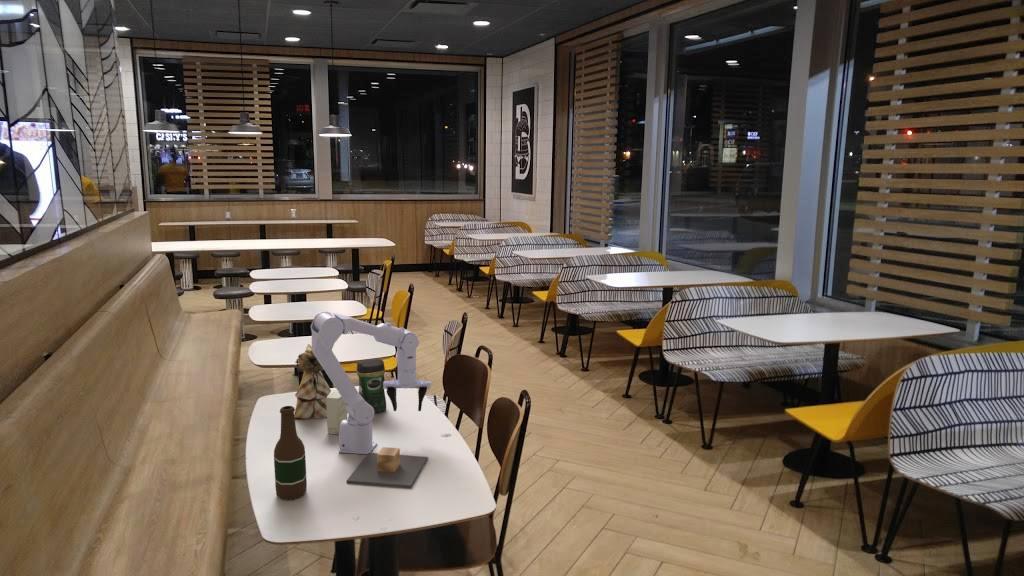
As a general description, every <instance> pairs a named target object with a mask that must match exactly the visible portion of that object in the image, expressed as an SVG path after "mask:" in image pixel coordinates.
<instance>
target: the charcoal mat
mask: <svg viewBox="0 0 1024 576" xmlns="http://www.w3.org/2000/svg"><path fill="white" fill-rule="evenodd" d="M378 453H379V452H370V453H368V454H365V455H366V456H365V457H364V458H363V459H362V460H361V462H360V463H359V464H358V465H357V467H356V468H355V469H354V470H353V472H351V474H350V476H349V477H348V478H347V479H346V484H351V483H352V484H353V485H365V486H380V487H391V488H394V487H395V488H404V489H405V488H406V489H412V487H413V485H414V484H415V482H416V480H417V479H418V477H419V475H420V474H421V472H422V471H423V468H424V467H423V466H425V464H426V463H427V461H428V460H427V459H429V458H428V456H420V455H408V454H400V465H399V467H398V468H397V470H396V471H395V472H382V471H377V454H378Z"/></svg>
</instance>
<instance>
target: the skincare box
mask: <svg viewBox="0 0 1024 576" xmlns="http://www.w3.org/2000/svg"><path fill="white" fill-rule="evenodd" d="M326 406H327V417H326V422H327V423H326V425H327V427H326V428H327V434H331V435H339V427H340V424H341V422H342V420H347V419H348V413H347V412H346V410H345V404H344V402H343V400H342V397H341V395H340V394H339V392H338V391H333V392H332V393H330V394H329V395H328V396H327V397H326Z"/></svg>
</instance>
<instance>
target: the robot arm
mask: <svg viewBox="0 0 1024 576" xmlns="http://www.w3.org/2000/svg"><path fill="white" fill-rule="evenodd" d="M310 330H311V347H312V352H313V353H314V355H315V356H316V358H317V360H318V361H319V363H320V364H321V366H322V367H323V371H324V372H325V374H326V375H327V376H328V378H329V379H330V381H331V382H332V384H333V385H334V387H335V389H336V391H337V392H339V394H340V395H341V397H342V400H343V402H344V404H345V410H346V412H347V420H342V422H341V424H340V427H339V434H338V440H339V443H338V444H339V445H338V446H339V449H338V452H339V453H344V454H357V455H358V454H360V455H367V454H368V453H372V451H373V450H374V448H375V447H376V446H377V445H378V442H376V441H373V419H374V418H375V413H374V408H373V407H372V406H371V405H369V404H368V403H367V402H366V401H365V400H364V399H363V398H362V396H361V395H360V394H359V390H357V388H356V386H355V385H354V384H353V381H352V380H351V378H350V377H349V374H347V372H346V371H345V370H344V367H343V366H342V364H341V363H340V361H339V360H338V357H336V355H335V354H334V351H333V347H334V345H335V343H336V342H337V341H338V340H339V338H340V337H341V336H342V334H343V335H346V334H348V333H349V332H355V333H360V334H365V335H367V336H368V335H369V336H372V337H373V338H374V340H375V341H376V342H377V343H382V344H385V345H388V346H391V347H396V350H397V351H396V353H397V354H396V356H397V357H396V359H397V360H396V361H397V379H396V380H394V379H393V380H383V389H384V390H386V395H387V396H388V397H389V398H388V399H389V400H390V402H391V405H392V409H393V412H396V411H397V409H398V405H397V404H398V402H397V389H418V390H417V393H418V395H417V396H418V408H417V409H418V410H417V411H418V412H421V411H422V406H423V401H424V398H425V396H426V393H427V392H428V390H431V386H432V385H431V384H432V380H421V379H417V348H418V347H419V344H420V340H419V339H418V336H417V334H416V333H413V332H412V331H410V330H408V329H406V328H404V327H396V326H393V325H392V323H391V322H385V323H383V322H380V323H379V324H377V325H375V324H372V323H369V322H366V321H363V320H360V319H357V318H354V317H351V316H348V315H343V314H339V313H335V312H332V313H331V312H329V311H325V310H324V311H320V312H318V313H317V314H315V316H314V317H313V320H312V322H311V324H310Z"/></svg>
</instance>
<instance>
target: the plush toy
mask: <svg viewBox="0 0 1024 576" xmlns="http://www.w3.org/2000/svg"><path fill="white" fill-rule="evenodd" d="M295 363H296V365H295V367H296V369H297V372H298V373H299V372H303V374H302V376H301V381H300V384H299V387H298V388H297V391H296V393H295V394H294V396H295V397H296V398H297V399H296V404H295V408H294V409H295V411H294V417H295V419H301V420H302V419H303V420H305V419H306V420H307V419H309V420H310V419H321V418H323V419H324V418H327V406H326V397H328V396H329V395H331V392H332V390H331V387H330V386H329V384H328V383H327V381H326V379H325V377H324V374H323V373H322V371H324V369H323V367H322V366H321V364H320V363H319V361H318V360H317V358H316V356H315V355H314V353H313V352H312V345H311V344H309V343H308V344H307V346H306V347H305V350H304V352H303V353H300V354H299V355H298V356H297V359H296V360H295Z"/></svg>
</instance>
